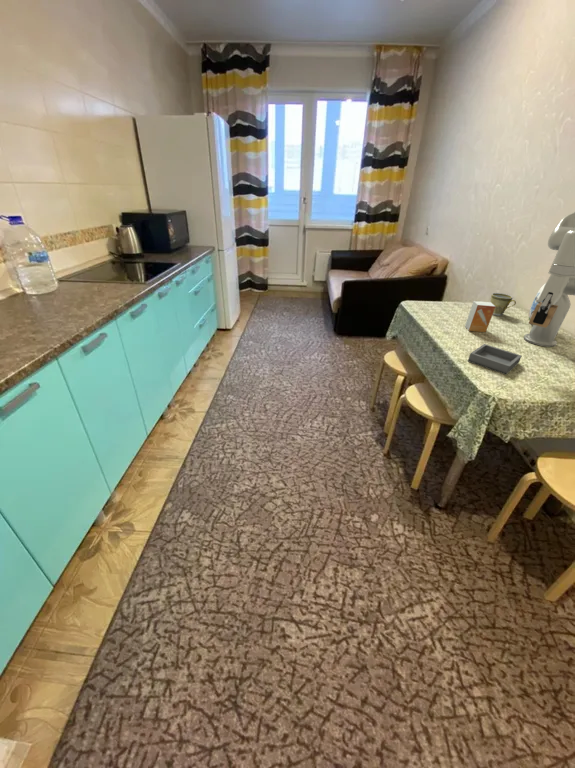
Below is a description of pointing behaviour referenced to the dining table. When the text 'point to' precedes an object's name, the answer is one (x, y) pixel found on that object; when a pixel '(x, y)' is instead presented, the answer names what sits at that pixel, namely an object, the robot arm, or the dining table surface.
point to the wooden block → (548, 318)
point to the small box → (479, 316)
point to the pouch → (535, 302)
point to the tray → (494, 358)
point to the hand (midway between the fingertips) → (540, 321)
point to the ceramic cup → (501, 302)
